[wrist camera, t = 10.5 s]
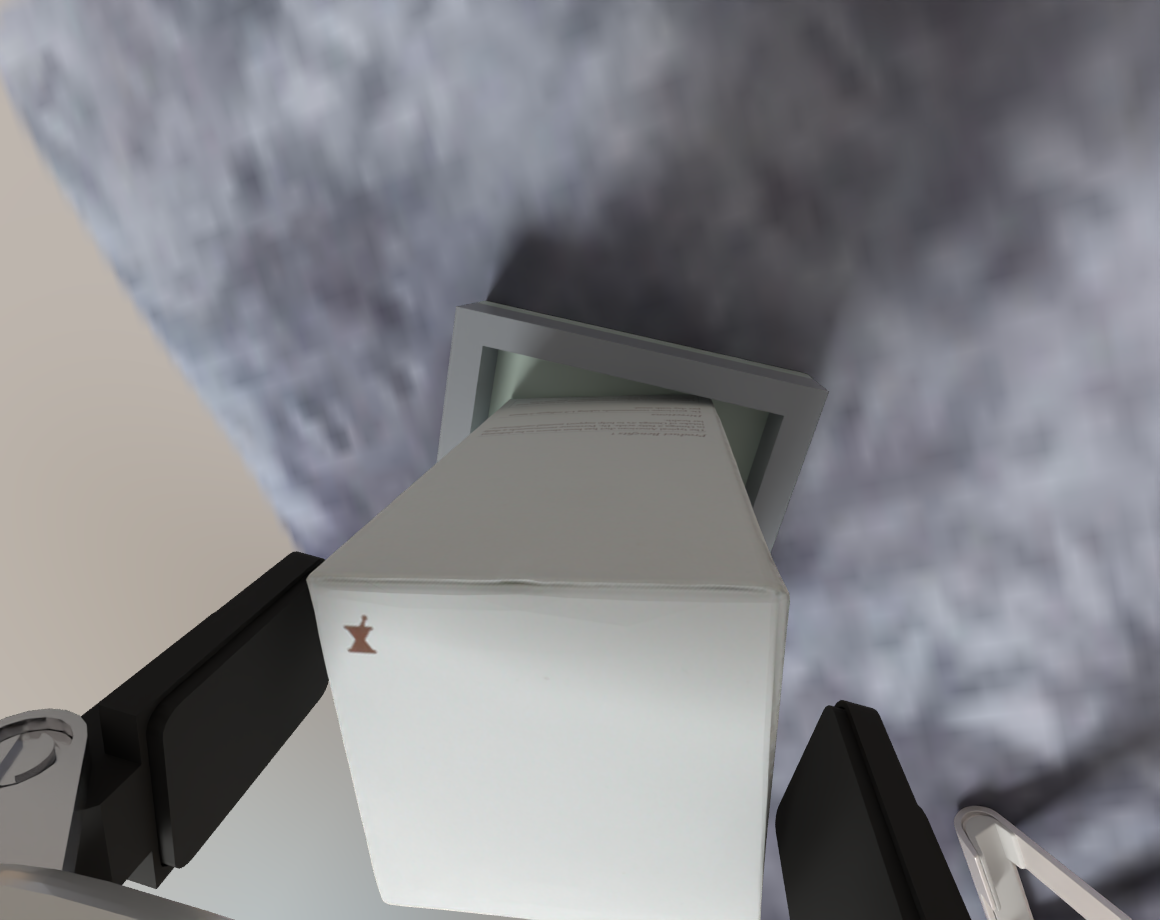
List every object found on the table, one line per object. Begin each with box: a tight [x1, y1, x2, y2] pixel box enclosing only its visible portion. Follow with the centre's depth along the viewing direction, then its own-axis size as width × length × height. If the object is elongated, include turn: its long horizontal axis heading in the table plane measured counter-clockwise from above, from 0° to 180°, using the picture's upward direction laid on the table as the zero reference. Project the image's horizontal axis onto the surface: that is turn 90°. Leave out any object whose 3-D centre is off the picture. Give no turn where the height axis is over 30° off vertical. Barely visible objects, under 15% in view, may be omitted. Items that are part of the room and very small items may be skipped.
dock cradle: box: [437, 301, 829, 553], centre depth 21 cm, size 12×12×3 cm
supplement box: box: [306, 395, 790, 920], centre depth 15 cm, size 7×7×13 cm
